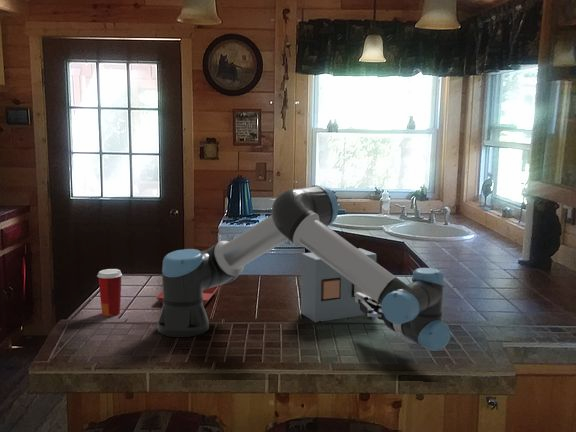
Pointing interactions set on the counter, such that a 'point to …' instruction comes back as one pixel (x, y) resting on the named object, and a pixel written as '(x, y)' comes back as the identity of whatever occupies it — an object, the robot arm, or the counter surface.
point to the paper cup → (110, 291)
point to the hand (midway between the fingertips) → (357, 296)
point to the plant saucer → (206, 295)
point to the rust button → (330, 288)
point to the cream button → (359, 291)
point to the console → (311, 291)
